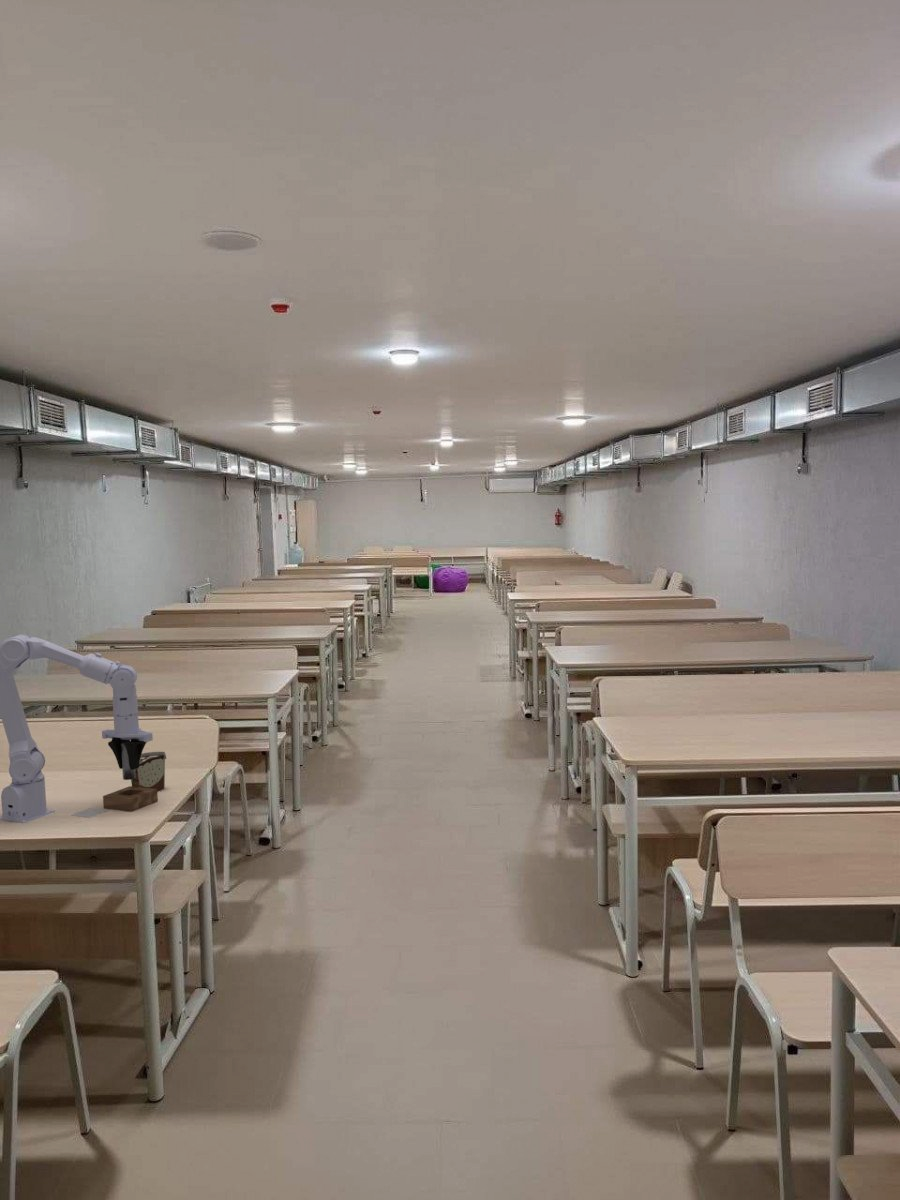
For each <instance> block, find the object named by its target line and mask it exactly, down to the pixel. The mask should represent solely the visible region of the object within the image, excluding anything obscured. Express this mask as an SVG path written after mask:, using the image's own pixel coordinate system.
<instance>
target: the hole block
mask: <svg viewBox="0 0 900 1200" xmlns="http://www.w3.org/2000/svg"><path fill="white" fill-rule="evenodd" d="M158 795H159V794H158V792H157V789H151V788H141V787H132V785H131V786H127V787H126V786H125V787H124V788H121V789H118V790H115V791H113V792H109V793H107V794H104V795H102V801H103V802H102V803H103V810H114V811H122V812H131V813H132V812H135V811H138V810H140V809H142V808H145V807H147V806H150V805H152V804H155V803H158V802H159V799H158V798H159V797H158Z"/></svg>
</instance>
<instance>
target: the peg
mask: <svg viewBox="0 0 900 1200" xmlns="http://www.w3.org/2000/svg"><path fill="white" fill-rule="evenodd" d="M126 742H129V741H126ZM126 742H122V743H121V756H122V769H121V770H122V780H123V781H124V780H125V781H129V780H130V781H131V779H135V778H136V773H135V769H134V770H131V769H130V766H129V757H128V753H127V750H126V747H125V745H124V743H126Z"/></svg>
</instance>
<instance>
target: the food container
mask: <svg viewBox="0 0 900 1200" xmlns="http://www.w3.org/2000/svg"><path fill="white" fill-rule="evenodd" d="M166 760H167V754H166V752H165V751H150V752H142V754H141V757H140V762H139V767H138V768H137V769H135V773H136V778H135V779H131V780H130V781H131V783H130V784H131V786H132V787H141V788H151V789H157V793H160V792H162V791H161V790H163V791H165V790H164V789H166V788H165V786H166V785H165V781H166V780H165V779H166V778H165V777H166V773H165V772H166ZM159 791H160V792H159Z"/></svg>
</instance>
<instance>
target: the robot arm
mask: <svg viewBox="0 0 900 1200" xmlns="http://www.w3.org/2000/svg"><path fill="white" fill-rule="evenodd" d="M44 658H45V659H48V660H51V661H55V662H58V663H62V664H63V665H64V664H65V665H66V666H70V667H73V668H77V669H78V670H79V673H80V675H81V676H83V677H85V678H89V679H92V680H95V681H97V682H98V683H102V684H105V685H108V684H109V685H110V687H111V688H112V709H113V710H112V711H113V726H114V728H113V729H105V730H102V731H101V737H102V739H103V740H104V739H105V740H106V739H111V740H110V741H108V742H107V744H108V745H107V746H108V747H109V748H110V749H111V751H112V752H113V756H114V757H115V759H116V762H117V765H118V768H119V770H120V769H121V770H122V756H121V743H122V742H126V741H129V742H126V743H124V745H125V747H126V750H127V753H128V757H129V766H130V769H131V770H134V769H137V768H138V767H139V762H140V757H141V754H142V753H143V750H144V748H145V747H146V744H147V743H148V742H151V741H153V739H154V737H153V732H149V731H145V730H142V729H141V728H140V727H139V708H138V707H139V706H138V694H137V685H136V684H135V683H136V682H137V679H138V672H137V670H136V669H135V668H134V667H133V666H131V665H129V664H127V663H122V662H121V661H118V660H116V661H112V660H110V659H107V658H105V657H103V656H102V654H101V653H100V652H96V653H88V654H86V655H82V654H79V653H77V652H74V651H72V650H70V649H67V648H64V647H63V646H60V645H59V644H55V643H53V642H51V641H49V640H45V639H43V638H40V637H37V636H36V637H35V636H30V635H28V634H26V633H20V634H16V635H14V636H13V637H8V638H6V639H4V640H3V641H1V643H0V718H1V722H2V725H3V728H4V732H5V735H6V738H7V742H8V745H9V746H8V757H9V767H8V772H9V776H10V777H11V783H10V784H9V785H8V786H6V787H4V788H3V789H2V790H1V795H0V800H1V813H2V816H1V817H0V820H1V821H6V822H7V821H8V822H13V823H14V822H15V823H21V824H24V823H27V822H31V821H33V820H36V819H38V818H41V817H44V816H47V815H49V814H52V813H55V812H56V810H55V809H50V808H49V809H47V795H46V792H47V791H46V780H45V774H44V773H43V772H42V769H44V767H45V766H46V758H45V755H44V753H43V752H42V751H41V750H40V749H39V748H38V745H37V743H36V741H35V740H34V738H33V737H32V735H31V731H30V727H29V724H28V720H27V717H26V713H25V711H24V707H23V703H22V700H21V697H20V695H19V690H18V688H17V684H16V681H15V674H16V673H17V672H18V670H19V669H20V668H21V666H22V665H23V664H24V663H25V662H26V661H27V660H30V661H31V660H37V659H44ZM121 663H122V664H121Z"/></svg>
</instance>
